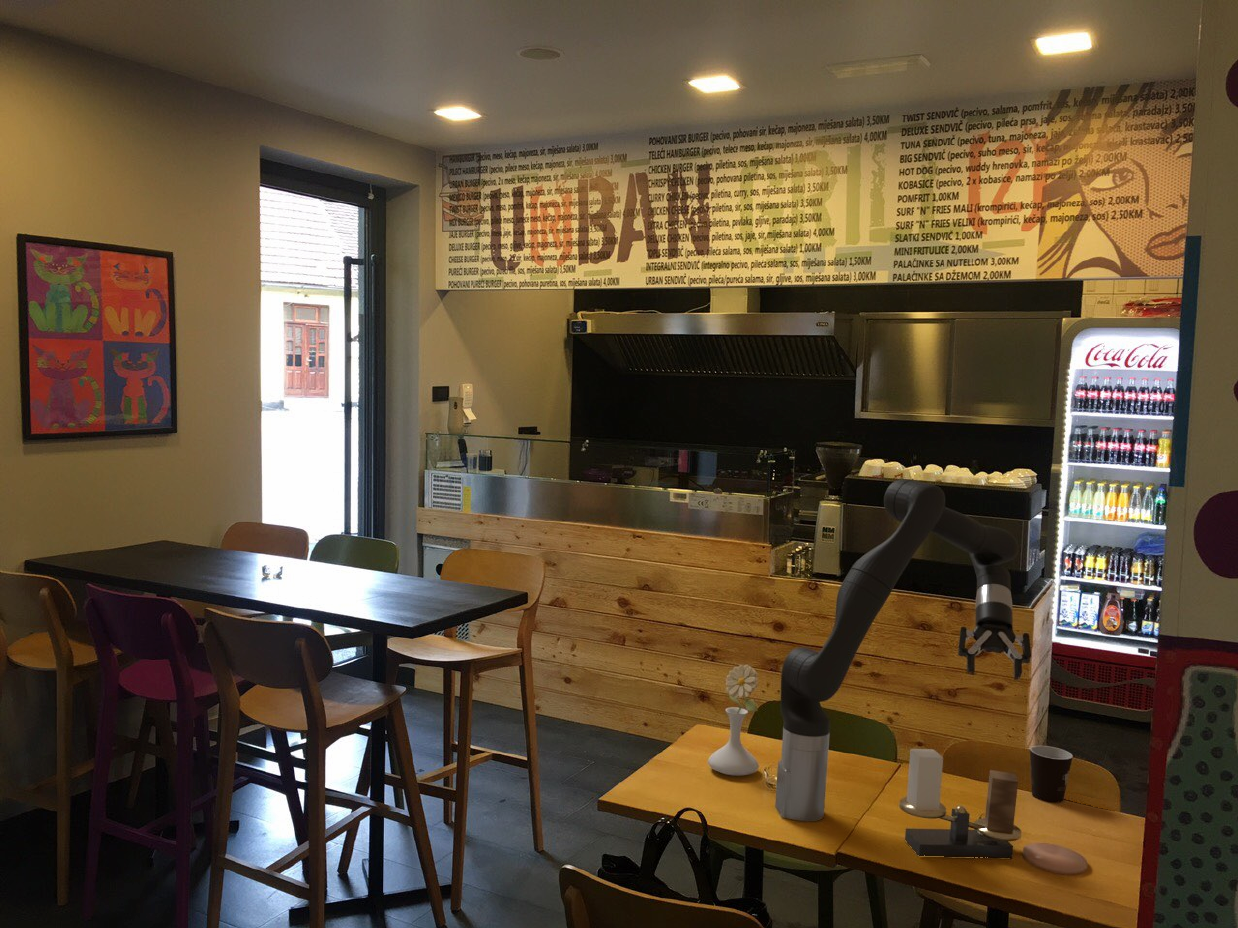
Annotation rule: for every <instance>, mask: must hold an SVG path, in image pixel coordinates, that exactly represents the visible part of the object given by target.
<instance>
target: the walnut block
mask: <svg viewBox="0 0 1238 928" xmlns="http://www.w3.org/2000/svg"><path fill="white" fill-rule="evenodd" d="M1018 788H1019V781H1018V778H1017V775H1016V774H1015V773H1012V772H1007V771H1005V772H1004V771H998V770H994V769H993V770H992V769H990V770H989V777H988V787H987V797H986V804H985V805H986V806H985V815H984V818H985V823H986V827H987V830H991V831H997V832H1003V833H1008V834H1013V826H1014V825H1015V816H1016V807H1017V797H1018Z"/></svg>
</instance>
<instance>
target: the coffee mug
mask: <svg viewBox="0 0 1238 928" xmlns="http://www.w3.org/2000/svg"><path fill="white" fill-rule="evenodd" d="M1029 754H1030V756H1029V757H1030V779H1031V781H1030V782H1031V785H1030V786H1031V796H1032V797H1034V798H1035V799H1036V800H1038V801H1042V802H1046V803H1052V804H1059V803H1063V802H1064V800H1065V794H1066V789H1067V785H1068V784H1067V783H1068V780H1069V775H1070V771H1071V768H1072V767H1071V765H1072V762H1073V757H1074V756H1073V754H1072V753H1071V752H1069V751H1067V750H1065V749H1062V748H1058V747H1054V746H1048V745H1034V746H1030V747H1029Z"/></svg>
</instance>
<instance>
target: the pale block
mask: <svg viewBox="0 0 1238 928" xmlns="http://www.w3.org/2000/svg"><path fill="white" fill-rule="evenodd" d="M909 751H910V752H909V753H910V754H909V766H908V776H907V777H908V778H907V779H908V780H907V791H906V793H907V794H906V797H907V801H908V802H909V803H910V804H911V805H912V806H913V807H914V808H915V810H939V806H940V803H941V789H942V777H943V767H944V763H943V762H944V757H943V756H942V755H941V754H940V753H939V752H937V751H936V750H935V749H931V748H910V750H909Z"/></svg>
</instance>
